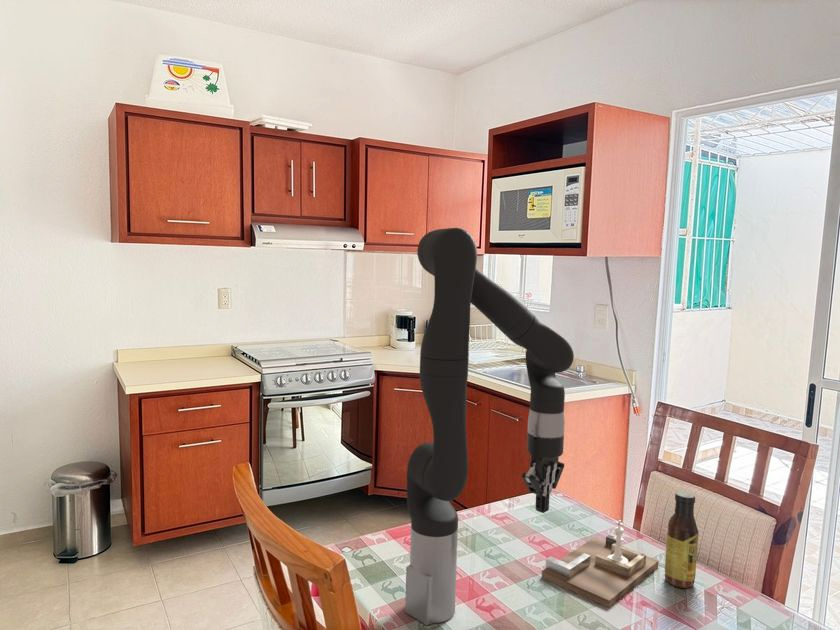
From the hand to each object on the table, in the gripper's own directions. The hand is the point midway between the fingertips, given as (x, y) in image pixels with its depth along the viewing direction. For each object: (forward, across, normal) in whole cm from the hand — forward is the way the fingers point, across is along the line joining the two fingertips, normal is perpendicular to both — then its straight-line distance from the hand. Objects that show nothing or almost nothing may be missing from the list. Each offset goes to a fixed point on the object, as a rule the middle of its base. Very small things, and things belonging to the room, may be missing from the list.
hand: (542, 510), depth 127 cm
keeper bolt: (+15, -10, +1) cm, 18 cm away
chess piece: (+16, -20, +8) cm, 27 cm away
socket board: (+17, -16, +6) cm, 24 cm away
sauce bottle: (+17, -25, +20) cm, 36 cm away
